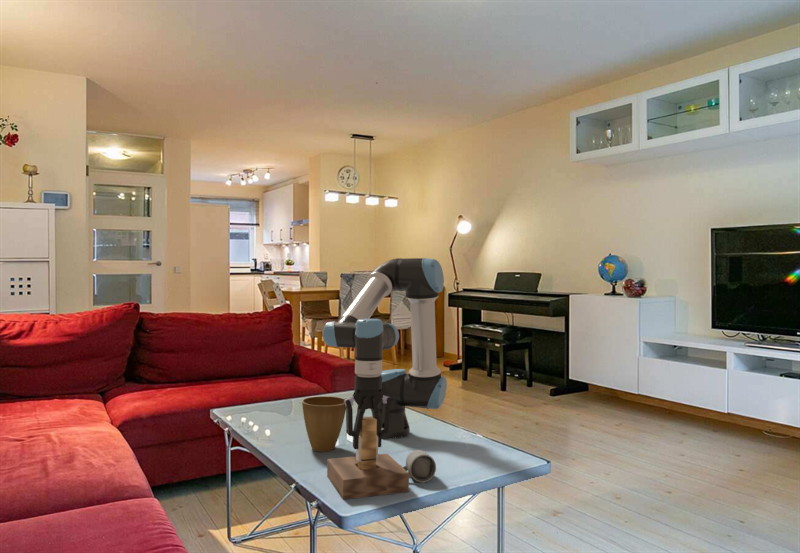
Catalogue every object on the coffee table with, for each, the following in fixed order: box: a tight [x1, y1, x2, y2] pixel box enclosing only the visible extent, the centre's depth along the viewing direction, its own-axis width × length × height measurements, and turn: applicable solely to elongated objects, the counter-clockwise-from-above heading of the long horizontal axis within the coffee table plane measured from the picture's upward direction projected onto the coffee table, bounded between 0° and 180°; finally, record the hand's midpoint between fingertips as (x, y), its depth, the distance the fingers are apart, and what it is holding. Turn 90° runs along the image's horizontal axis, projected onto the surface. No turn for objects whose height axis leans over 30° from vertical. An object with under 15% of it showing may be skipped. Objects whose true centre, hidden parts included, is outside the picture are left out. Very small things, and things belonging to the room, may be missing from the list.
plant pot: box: [301, 395, 346, 452], centre depth 191 cm, size 15×15×16 cm
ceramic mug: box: [402, 449, 437, 483], centre depth 164 cm, size 11×8×8 cm
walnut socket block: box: [326, 453, 410, 500], centre depth 159 cm, size 18×18×5 cm
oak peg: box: [358, 415, 377, 470], centre depth 159 cm, size 4×4×15 cm
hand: (366, 459), depth 159 cm, fingers closed on oak peg, 4 cm apart
